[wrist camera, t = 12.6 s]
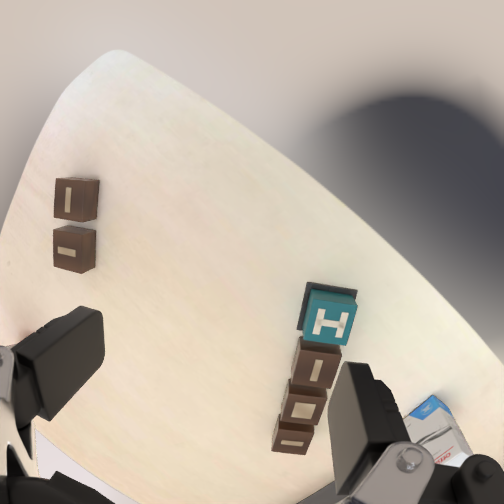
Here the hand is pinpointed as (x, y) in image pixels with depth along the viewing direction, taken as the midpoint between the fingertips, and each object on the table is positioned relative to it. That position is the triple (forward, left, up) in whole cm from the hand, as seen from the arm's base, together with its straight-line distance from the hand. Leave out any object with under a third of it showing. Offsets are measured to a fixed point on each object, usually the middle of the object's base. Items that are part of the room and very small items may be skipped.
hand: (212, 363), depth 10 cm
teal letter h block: (+7, +8, -24) cm, 26 cm away
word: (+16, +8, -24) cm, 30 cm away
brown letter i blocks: (+2, -22, -24) cm, 33 cm away
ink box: (+22, +26, -24) cm, 42 cm away
